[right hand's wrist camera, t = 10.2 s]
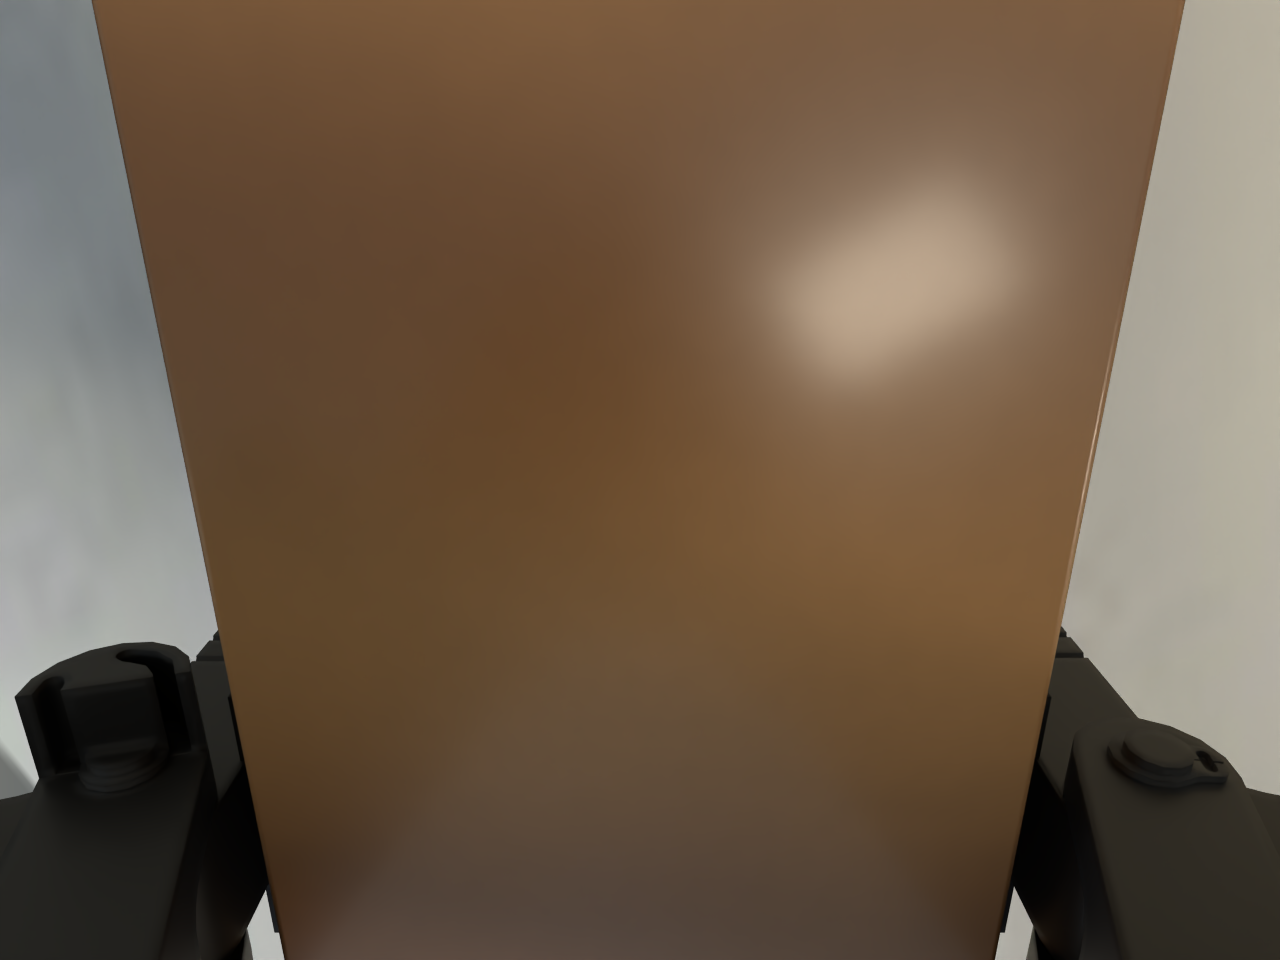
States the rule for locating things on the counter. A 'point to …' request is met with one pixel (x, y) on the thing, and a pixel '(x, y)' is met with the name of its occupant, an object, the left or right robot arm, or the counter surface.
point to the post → (639, 445)
